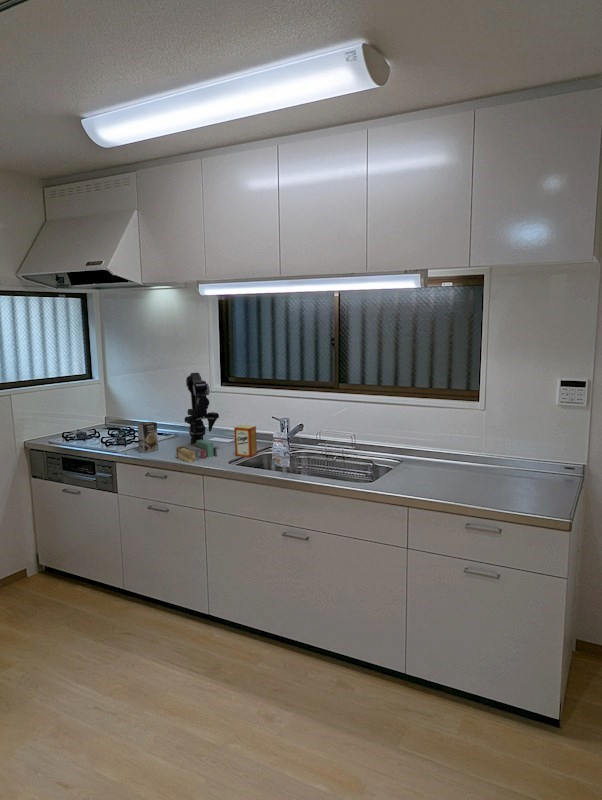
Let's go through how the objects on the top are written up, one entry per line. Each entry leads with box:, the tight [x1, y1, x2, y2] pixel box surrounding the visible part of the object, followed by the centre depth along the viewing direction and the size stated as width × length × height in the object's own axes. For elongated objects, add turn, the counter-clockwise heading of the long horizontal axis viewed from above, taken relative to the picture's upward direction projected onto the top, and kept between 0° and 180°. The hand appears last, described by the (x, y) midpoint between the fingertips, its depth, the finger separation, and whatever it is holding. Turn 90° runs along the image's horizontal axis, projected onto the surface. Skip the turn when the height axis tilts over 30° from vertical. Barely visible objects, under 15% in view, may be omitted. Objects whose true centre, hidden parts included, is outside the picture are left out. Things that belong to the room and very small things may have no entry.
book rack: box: [175, 443, 218, 463], centre depth 299 cm, size 17×12×6 cm
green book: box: [196, 439, 215, 459], centre depth 302 cm, size 4×11×8 cm, turn 43°
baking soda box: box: [234, 424, 258, 458], centre depth 300 cm, size 10×6×16 cm
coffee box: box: [137, 421, 159, 454], centre depth 315 cm, size 9×6×16 cm
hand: (202, 433), depth 304 cm, fingers open, 9 cm apart
